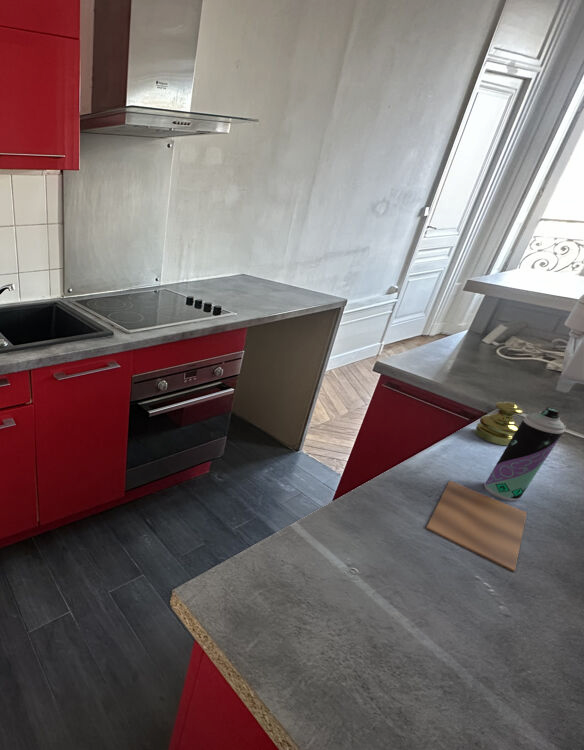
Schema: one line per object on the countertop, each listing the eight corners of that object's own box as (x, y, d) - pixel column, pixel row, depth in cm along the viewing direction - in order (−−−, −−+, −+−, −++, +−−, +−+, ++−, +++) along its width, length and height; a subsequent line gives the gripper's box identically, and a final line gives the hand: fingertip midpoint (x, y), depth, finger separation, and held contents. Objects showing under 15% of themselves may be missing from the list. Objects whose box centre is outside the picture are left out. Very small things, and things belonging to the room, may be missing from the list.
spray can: (478, 486, 87) (526, 405, 78) (492, 480, 89) (541, 400, 80) (510, 504, 82) (565, 419, 73) (524, 497, 84) (580, 414, 75)
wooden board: (448, 481, 88) (449, 480, 88) (526, 514, 80) (527, 512, 80) (425, 528, 76) (426, 526, 76) (513, 572, 68) (515, 570, 68)
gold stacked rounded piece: (466, 427, 107) (484, 394, 103) (497, 430, 107) (516, 397, 102) (487, 444, 101) (507, 409, 96) (520, 447, 100) (542, 412, 96)
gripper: (634, 340, 66) (584, 413, 72) (627, 316, 78) (585, 380, 84) (577, 329, 70) (534, 399, 76) (579, 308, 82) (542, 370, 88)
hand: (561, 389), depth 80 cm, fingers closed
